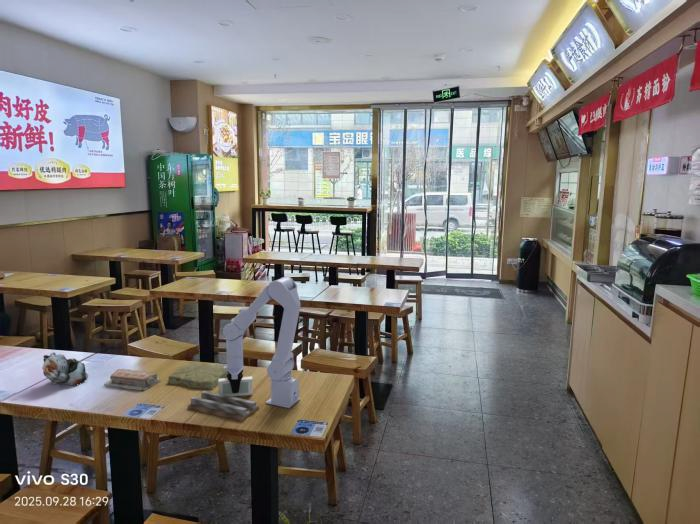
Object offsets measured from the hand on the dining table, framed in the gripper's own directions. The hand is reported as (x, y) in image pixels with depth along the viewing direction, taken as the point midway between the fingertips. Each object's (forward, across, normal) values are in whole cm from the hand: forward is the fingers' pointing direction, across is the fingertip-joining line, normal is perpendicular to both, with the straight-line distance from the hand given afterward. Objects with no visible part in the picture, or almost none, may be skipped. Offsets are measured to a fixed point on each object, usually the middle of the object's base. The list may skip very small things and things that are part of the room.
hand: (235, 390), depth 172 cm
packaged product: (+2, -18, -39) cm, 43 cm away
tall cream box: (+2, 0, 0) cm, 2 cm away
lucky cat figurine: (+2, -23, -64) cm, 68 cm away
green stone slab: (+2, -18, -14) cm, 23 cm away
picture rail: (+1, +11, -4) cm, 11 cm away
